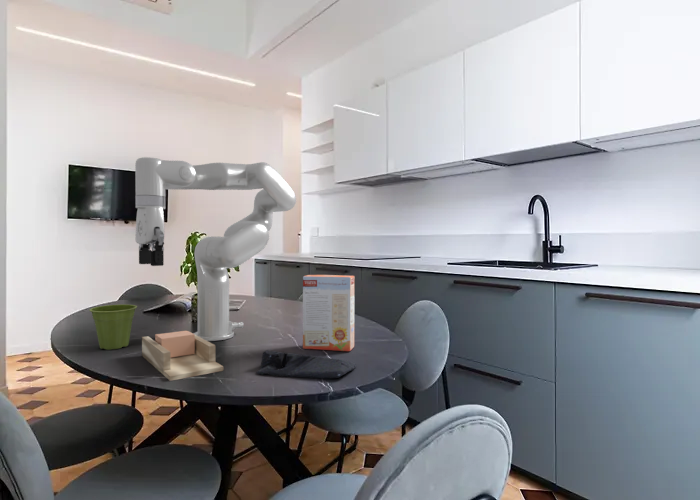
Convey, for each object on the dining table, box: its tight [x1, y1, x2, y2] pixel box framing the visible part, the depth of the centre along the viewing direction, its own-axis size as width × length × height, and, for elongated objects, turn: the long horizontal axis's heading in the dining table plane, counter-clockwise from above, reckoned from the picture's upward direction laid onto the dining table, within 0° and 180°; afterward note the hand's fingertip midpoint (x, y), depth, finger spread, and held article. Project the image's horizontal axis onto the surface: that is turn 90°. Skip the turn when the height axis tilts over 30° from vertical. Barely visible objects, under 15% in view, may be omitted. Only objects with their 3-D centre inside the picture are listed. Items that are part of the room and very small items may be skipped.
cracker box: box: [302, 274, 355, 352], centre depth 121 cm, size 14×6×21 cm, turn 77°
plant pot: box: [89, 303, 138, 351], centre depth 121 cm, size 12×12×11 cm
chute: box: [141, 335, 224, 382], centre depth 106 cm, size 12×25×5 cm, turn 39°
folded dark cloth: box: [256, 349, 357, 380], centre depth 101 cm, size 15×22×5 cm
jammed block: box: [154, 330, 195, 358], centre depth 109 cm, size 8×6×5 cm
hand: (151, 264), depth 118 cm, fingers open, 9 cm apart
